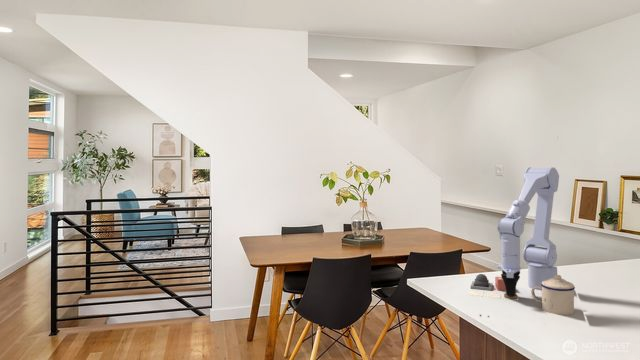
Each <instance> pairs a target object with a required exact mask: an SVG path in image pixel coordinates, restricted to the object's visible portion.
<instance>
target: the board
mask: <svg viewBox="0 0 640 360" xmlns="http://www.w3.org/2000/svg"><path fill="white" fill-rule="evenodd" d="M469 286H470V289H472V290H470V291H469V292H468V296H473V297H474V296H475V297H483V296H484V293H485V292H481V290H482V291H490V292H486V294H485V297H486V298H492V299H493V298H494V299H501V297H502V296H501V295H502V294H501V293H495V292H494V293H492V292H491V291H492V290H493V282H489V287H479V286H475V280H472V282H471V284H470V285H469ZM473 290H479V291H473ZM502 299H503V300H508V299H507V298H505V297H504V295H503V297H502ZM509 300H510V301H511V300H512V301H519V297H518V298H517V299H509Z"/></svg>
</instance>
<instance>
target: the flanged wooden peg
mask: <svg viewBox="0 0 640 360" xmlns="http://www.w3.org/2000/svg"><path fill="white" fill-rule="evenodd" d="M503 296H504V297H505V298H507V299H506V300H510V299H517V298H518V299H519V295H518V294H517V288H516V289H515V294H514V296H508V295H507V293H506V292H505V293H504V294H503Z"/></svg>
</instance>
